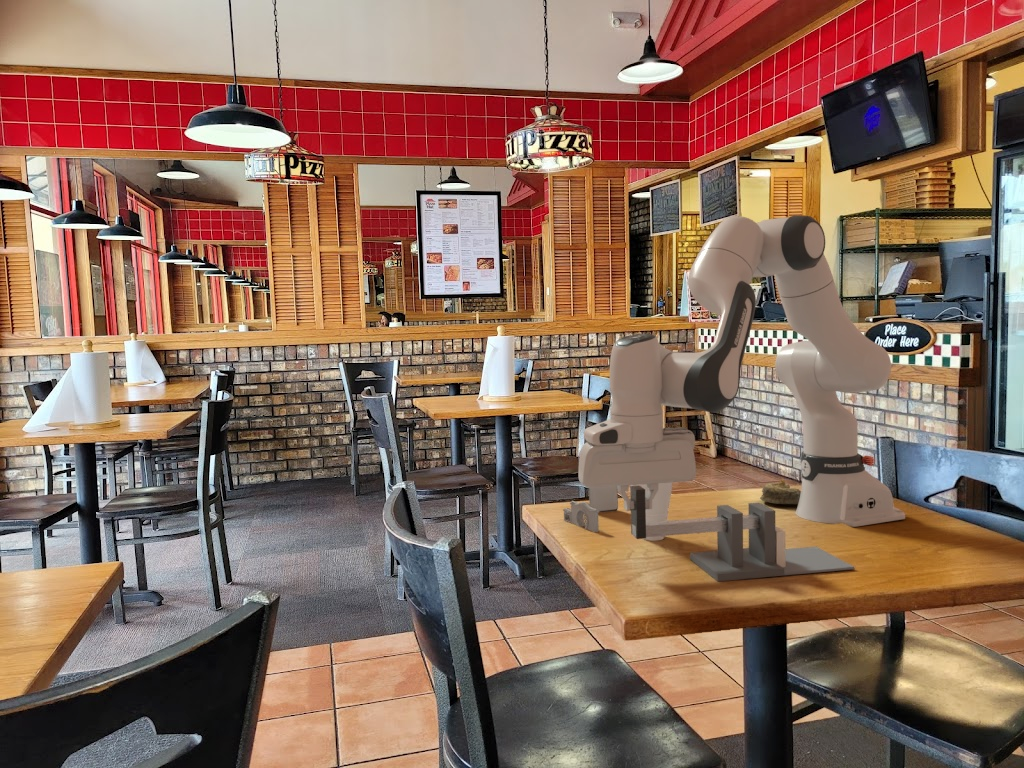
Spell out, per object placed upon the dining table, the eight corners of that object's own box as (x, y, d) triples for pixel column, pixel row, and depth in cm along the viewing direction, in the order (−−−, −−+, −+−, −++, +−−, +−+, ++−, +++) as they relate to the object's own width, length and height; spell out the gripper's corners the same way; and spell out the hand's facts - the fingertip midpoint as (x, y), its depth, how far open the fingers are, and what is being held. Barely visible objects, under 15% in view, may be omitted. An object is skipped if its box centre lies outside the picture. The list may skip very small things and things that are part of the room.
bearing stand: (751, 554, 140) (751, 498, 139) (784, 575, 128) (784, 515, 127) (690, 559, 138) (689, 503, 137) (717, 581, 126) (717, 520, 125)
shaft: (754, 524, 135) (754, 477, 134) (763, 528, 131) (763, 481, 131) (631, 533, 131) (630, 486, 130) (637, 539, 128) (636, 490, 127)
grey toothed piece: (562, 522, 167) (562, 495, 166) (569, 520, 167) (568, 494, 167) (594, 534, 156) (593, 506, 156) (601, 533, 157) (600, 505, 156)
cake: (774, 508, 172) (774, 485, 172) (751, 498, 182) (751, 476, 181) (813, 504, 174) (813, 482, 174) (789, 495, 184) (788, 473, 183)
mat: (816, 548, 142) (816, 546, 142) (854, 569, 130) (854, 566, 130) (751, 554, 140) (751, 551, 140) (784, 575, 128) (784, 573, 128)
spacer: (767, 555, 137) (767, 521, 137) (785, 566, 131) (785, 531, 130) (759, 556, 137) (759, 522, 136) (776, 567, 131) (776, 531, 130)
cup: (626, 529, 159) (624, 445, 157) (677, 530, 157) (676, 445, 155) (625, 544, 148) (623, 454, 147) (680, 545, 146) (679, 454, 145)
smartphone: (590, 513, 172) (588, 449, 171) (589, 513, 173) (587, 448, 172) (618, 510, 174) (616, 446, 173) (617, 510, 175) (615, 446, 173)
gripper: (687, 424, 133) (688, 501, 134) (574, 430, 130) (576, 508, 131) (701, 429, 126) (702, 509, 128) (583, 435, 123) (585, 518, 125)
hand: (638, 509), depth 129 cm, fingers closed on shaft, 2 cm apart
